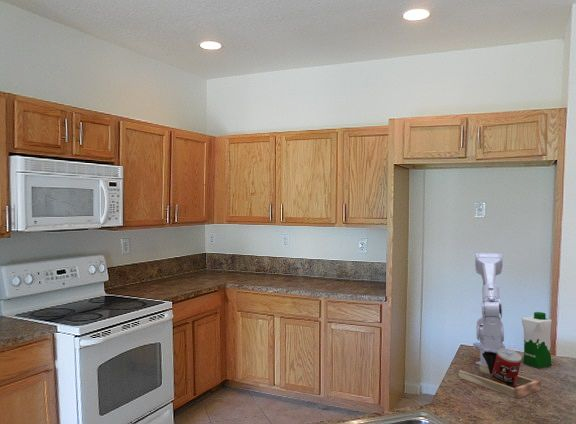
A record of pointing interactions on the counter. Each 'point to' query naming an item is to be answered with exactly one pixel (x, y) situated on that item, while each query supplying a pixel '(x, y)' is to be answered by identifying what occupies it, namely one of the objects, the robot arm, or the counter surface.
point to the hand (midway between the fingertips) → (492, 373)
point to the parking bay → (518, 392)
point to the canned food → (506, 368)
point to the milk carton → (537, 340)
